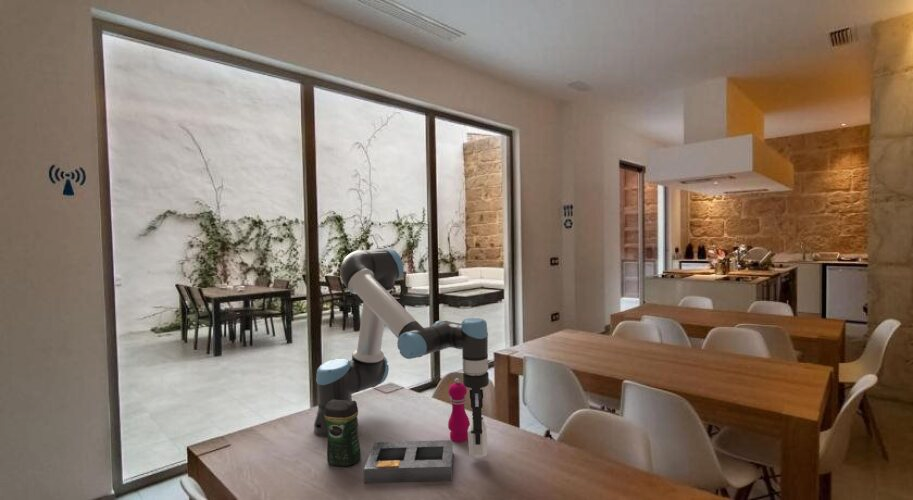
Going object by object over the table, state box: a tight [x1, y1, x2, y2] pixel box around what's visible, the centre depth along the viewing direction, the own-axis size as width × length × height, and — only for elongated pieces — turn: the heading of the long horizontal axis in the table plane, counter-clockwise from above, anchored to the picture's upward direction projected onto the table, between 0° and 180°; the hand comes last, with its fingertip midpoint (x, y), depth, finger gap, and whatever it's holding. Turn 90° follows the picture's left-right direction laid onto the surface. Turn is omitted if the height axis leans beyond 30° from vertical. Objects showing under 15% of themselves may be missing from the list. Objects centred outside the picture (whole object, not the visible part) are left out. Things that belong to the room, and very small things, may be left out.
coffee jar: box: [325, 399, 362, 467], centre depth 141 cm, size 10×8×19 cm
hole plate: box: [363, 439, 454, 484], centre depth 136 cm, size 16×24×4 cm, turn 89°
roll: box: [467, 418, 488, 459], centre depth 138 cm, size 6×12×6 cm
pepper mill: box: [447, 377, 471, 443], centre depth 153 cm, size 7×7×20 cm
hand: (477, 448), depth 138 cm, fingers closed on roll, 6 cm apart
